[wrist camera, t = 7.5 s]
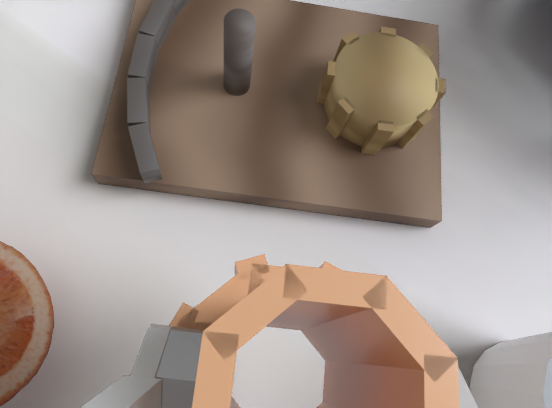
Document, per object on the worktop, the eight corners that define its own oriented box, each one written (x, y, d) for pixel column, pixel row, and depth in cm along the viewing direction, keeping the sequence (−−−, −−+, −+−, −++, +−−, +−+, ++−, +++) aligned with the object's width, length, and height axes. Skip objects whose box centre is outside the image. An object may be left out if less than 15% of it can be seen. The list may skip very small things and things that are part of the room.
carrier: (428, 38, 32) (482, -44, 25) (430, 229, 27) (496, 191, 21) (146, -9, 30) (124, -109, 24) (98, 185, 26) (55, 129, 19)
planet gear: (386, 279, 17) (530, 213, 9) (382, 512, 14) (575, 718, 6) (186, 256, 16) (142, 164, 8) (147, 492, 14) (31, 685, 6)
